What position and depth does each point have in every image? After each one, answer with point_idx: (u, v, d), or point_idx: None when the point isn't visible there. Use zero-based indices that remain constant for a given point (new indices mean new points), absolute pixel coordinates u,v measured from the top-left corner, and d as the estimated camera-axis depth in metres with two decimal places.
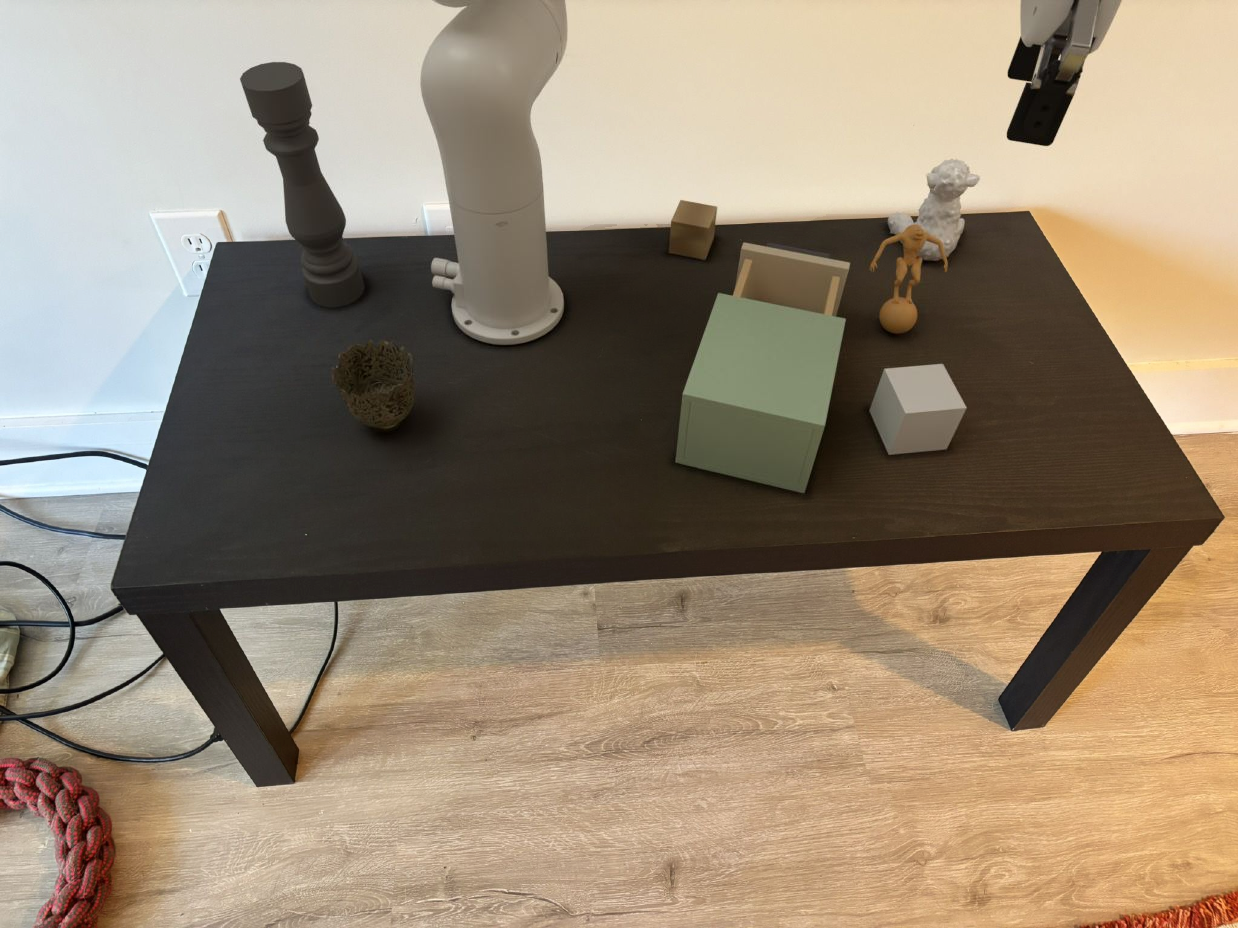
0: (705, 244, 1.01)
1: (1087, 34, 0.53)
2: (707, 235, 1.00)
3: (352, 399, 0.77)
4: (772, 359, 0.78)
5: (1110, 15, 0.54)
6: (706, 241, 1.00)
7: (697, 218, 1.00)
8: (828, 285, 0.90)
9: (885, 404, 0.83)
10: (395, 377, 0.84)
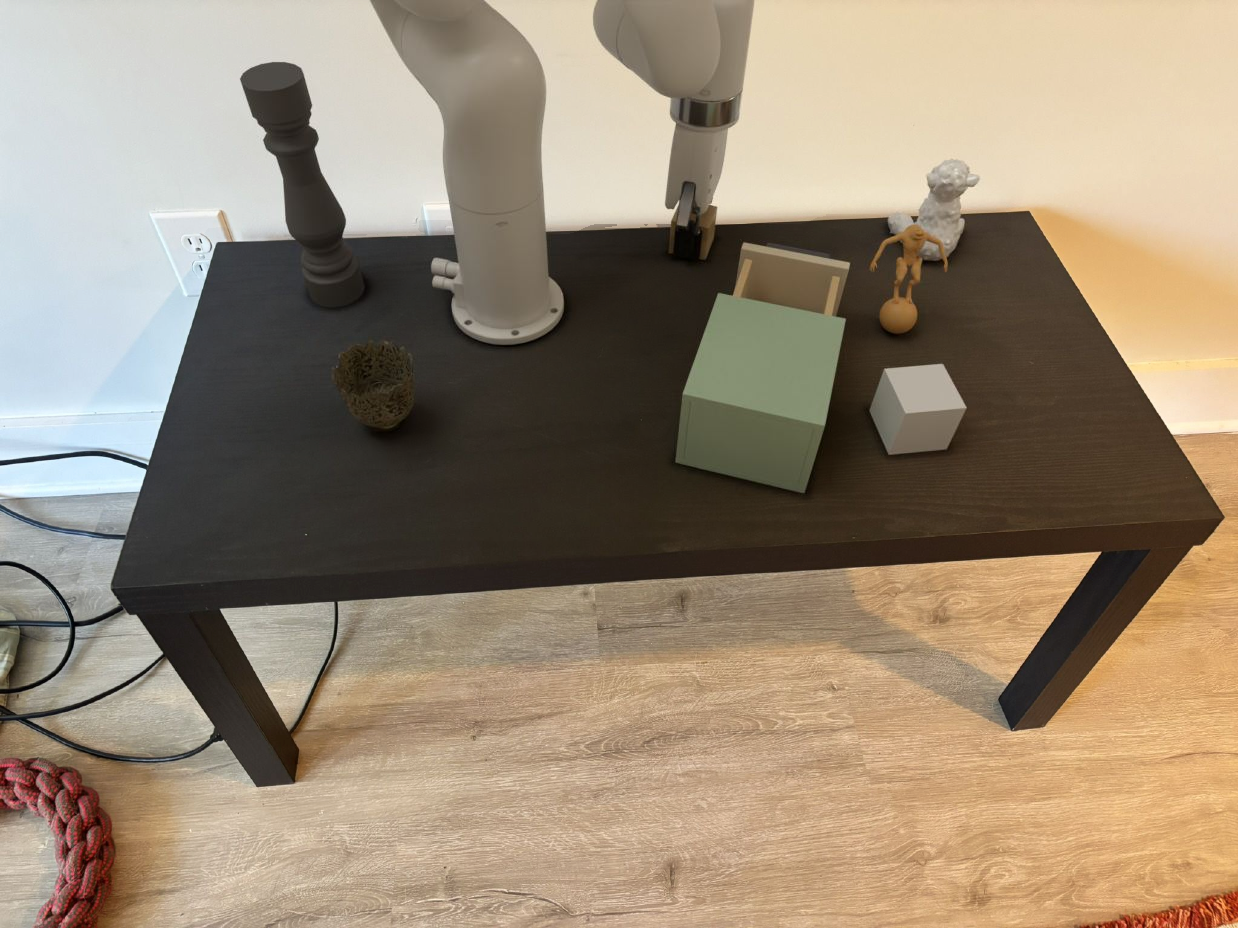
0: (705, 244, 1.01)
1: (685, 217, 0.94)
2: (707, 235, 1.00)
3: (352, 399, 0.77)
4: (772, 359, 0.78)
5: (703, 196, 0.93)
6: (706, 241, 1.00)
7: None
8: (828, 285, 0.90)
9: (885, 404, 0.83)
10: (395, 377, 0.84)
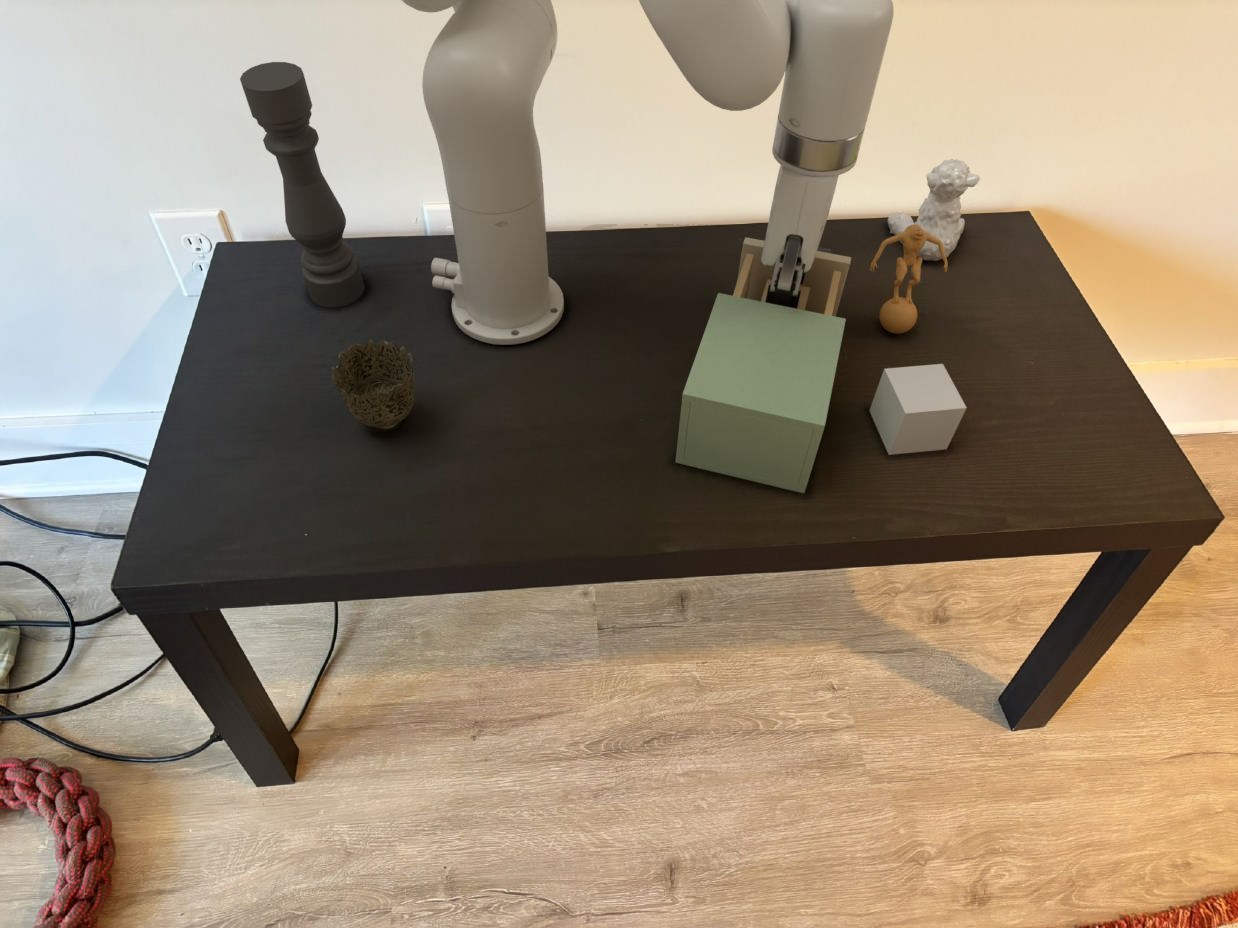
0: None
1: (789, 276, 0.77)
2: None
3: (352, 399, 0.77)
4: (772, 359, 0.78)
5: (810, 251, 0.77)
6: None
7: None
8: (829, 280, 0.90)
9: (885, 404, 0.83)
10: (395, 377, 0.84)
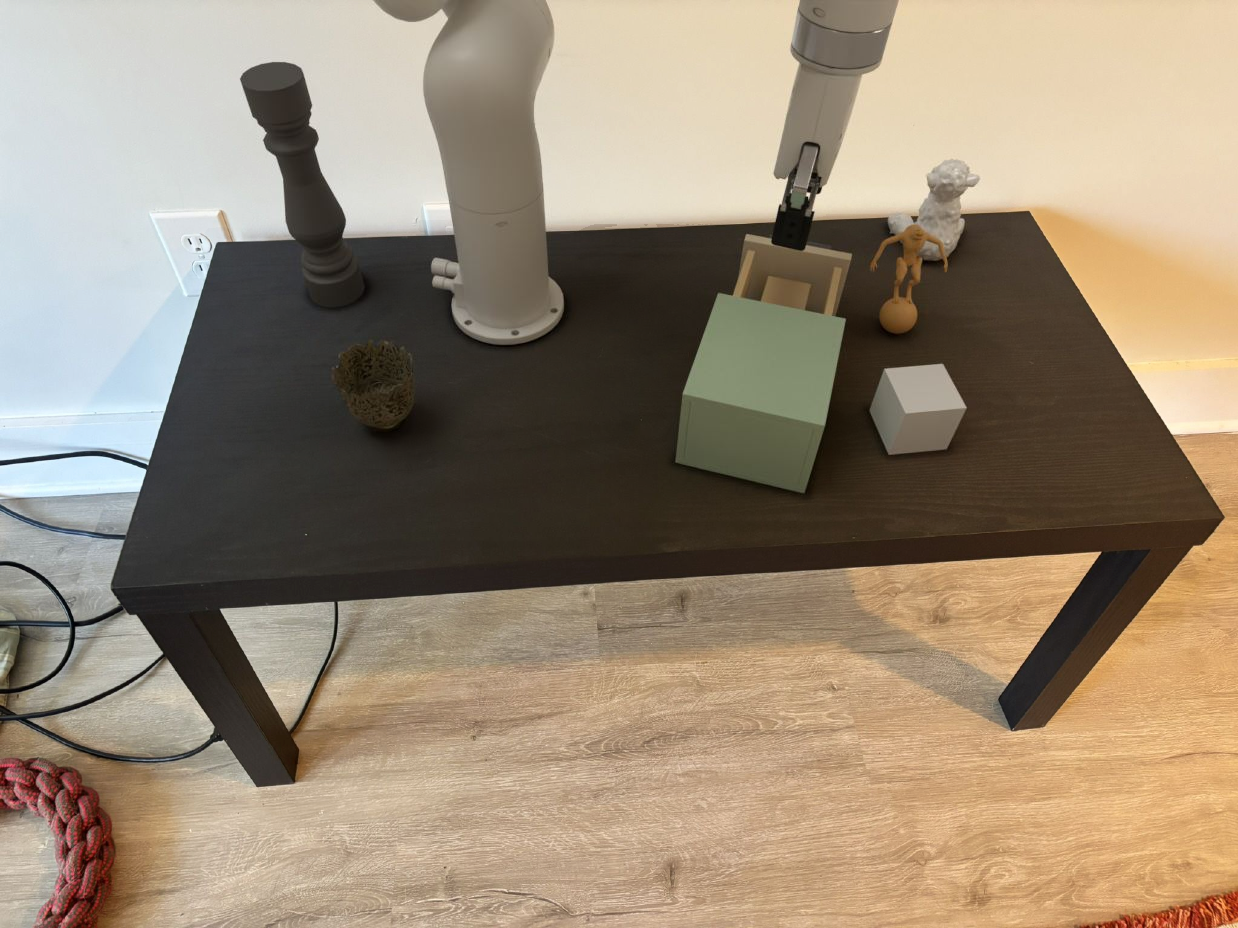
0: None
1: (805, 178, 0.70)
2: None
3: (352, 399, 0.77)
4: (772, 359, 0.78)
5: (828, 162, 0.71)
6: None
7: (790, 299, 0.88)
8: (830, 276, 0.91)
9: (885, 404, 0.83)
10: (395, 377, 0.84)
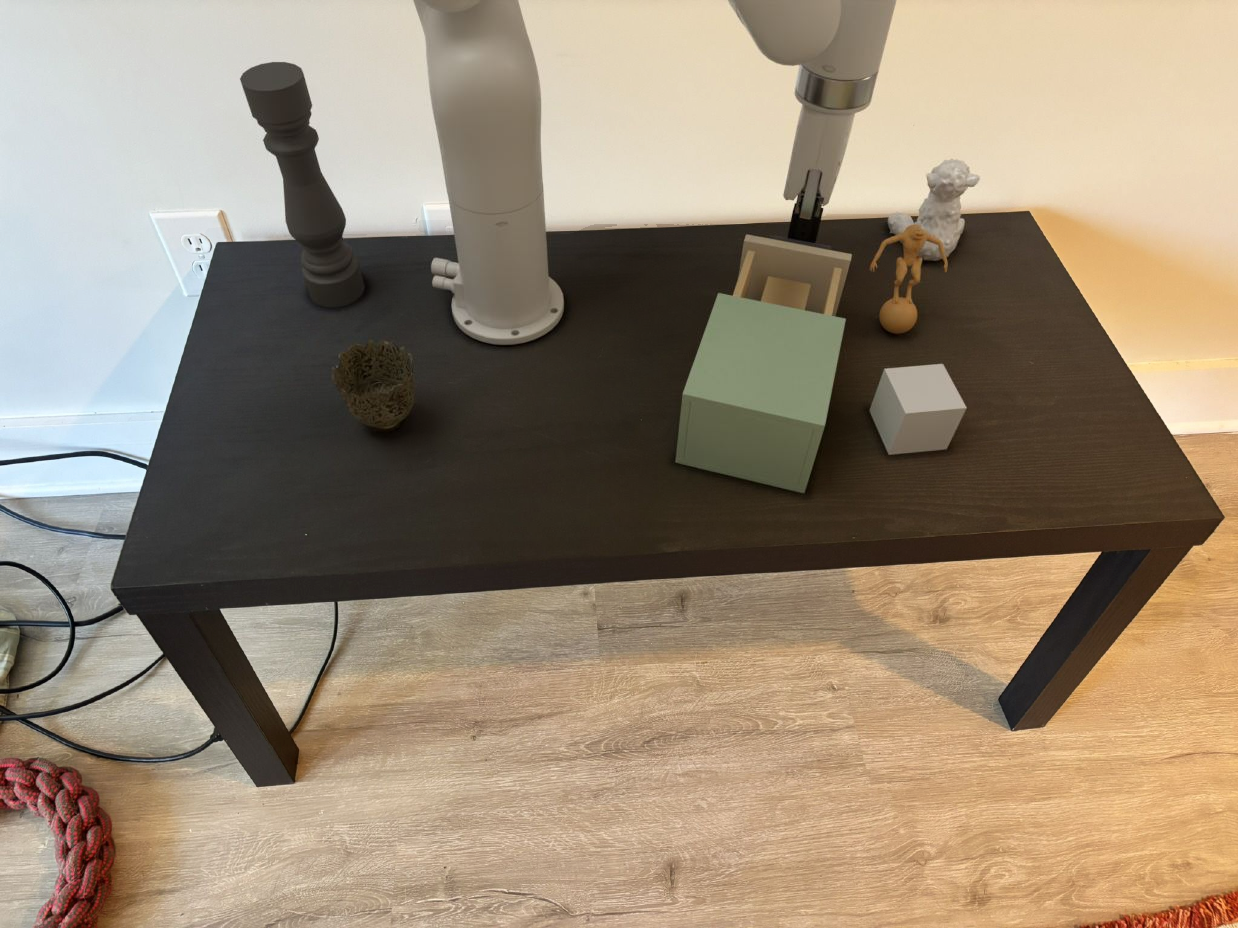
0: None
1: (809, 209, 0.88)
2: None
3: (352, 399, 0.77)
4: (772, 359, 0.78)
5: (829, 185, 0.85)
6: None
7: (790, 300, 0.88)
8: (830, 276, 0.91)
9: (885, 404, 0.83)
10: (395, 377, 0.84)
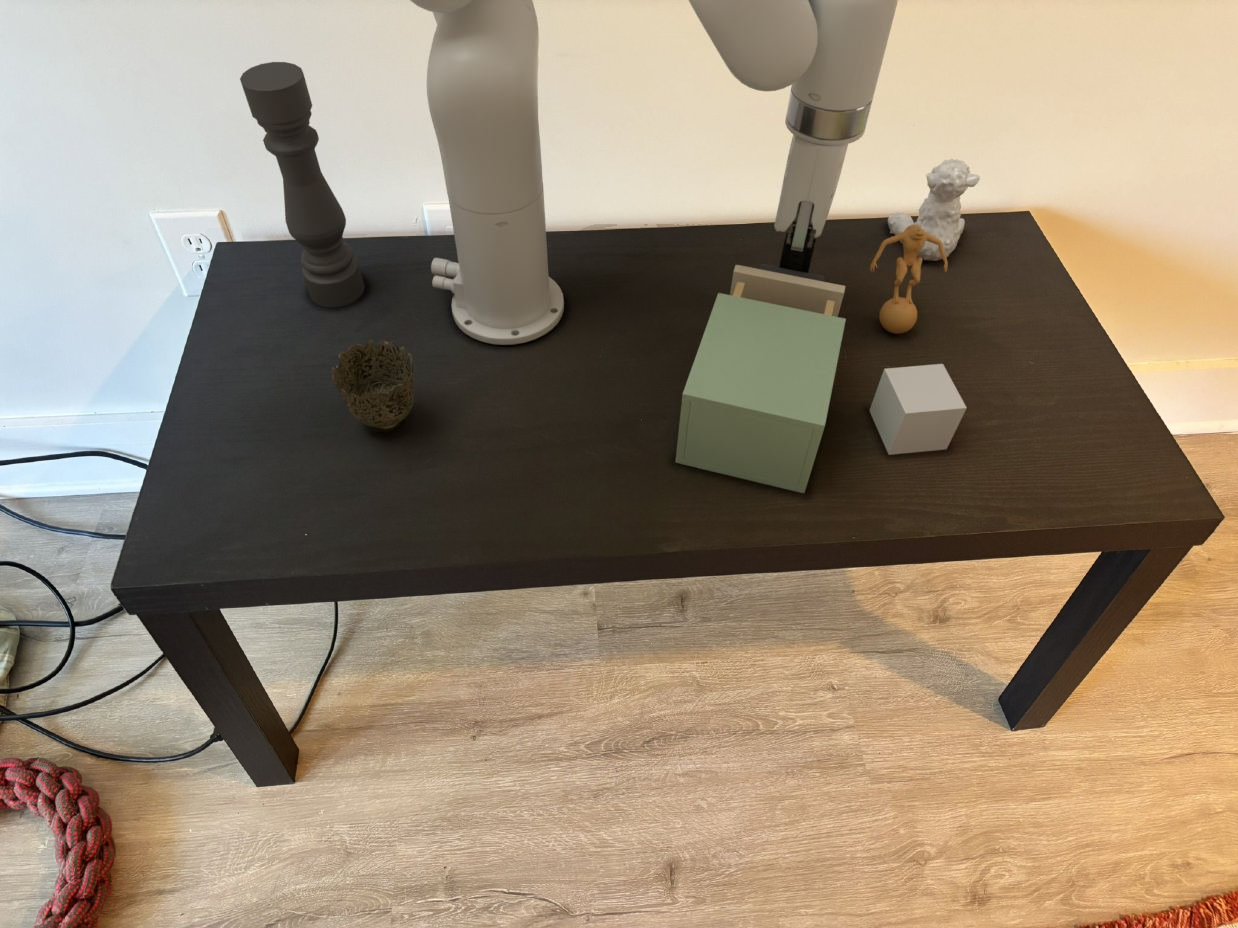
0: None
1: (801, 241, 0.84)
2: None
3: (352, 399, 0.77)
4: (772, 359, 0.78)
5: (821, 217, 0.82)
6: None
7: None
8: (823, 309, 0.87)
9: (885, 404, 0.83)
10: (395, 377, 0.84)
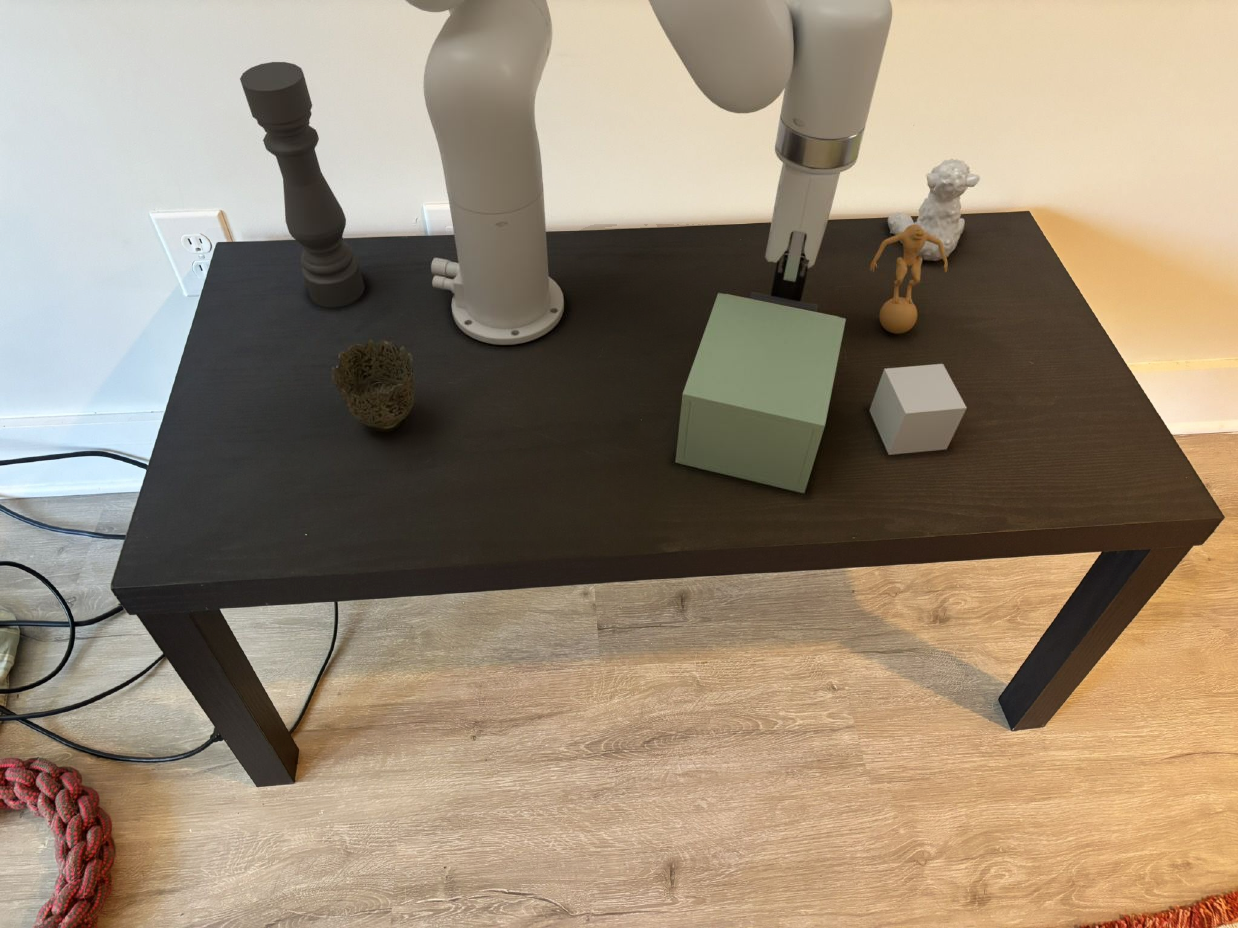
0: None
1: (793, 272, 0.81)
2: None
3: (352, 399, 0.77)
4: (772, 359, 0.78)
5: (814, 247, 0.79)
6: None
7: None
8: None
9: (885, 404, 0.83)
10: (395, 377, 0.84)
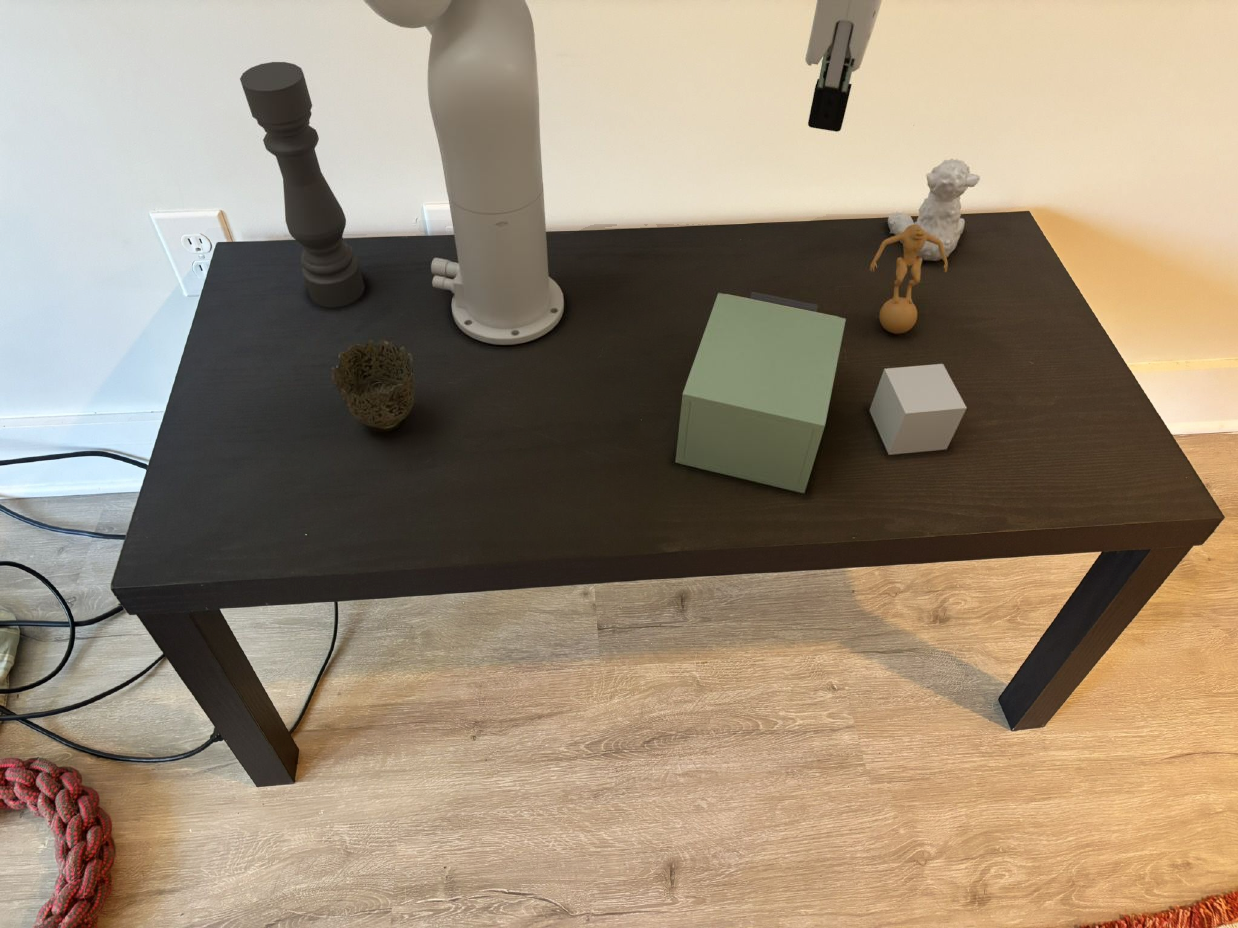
0: None
1: (836, 75, 0.73)
2: None
3: (352, 399, 0.77)
4: (772, 359, 0.78)
5: (861, 42, 0.71)
6: None
7: None
8: None
9: (885, 404, 0.83)
10: (395, 377, 0.84)
